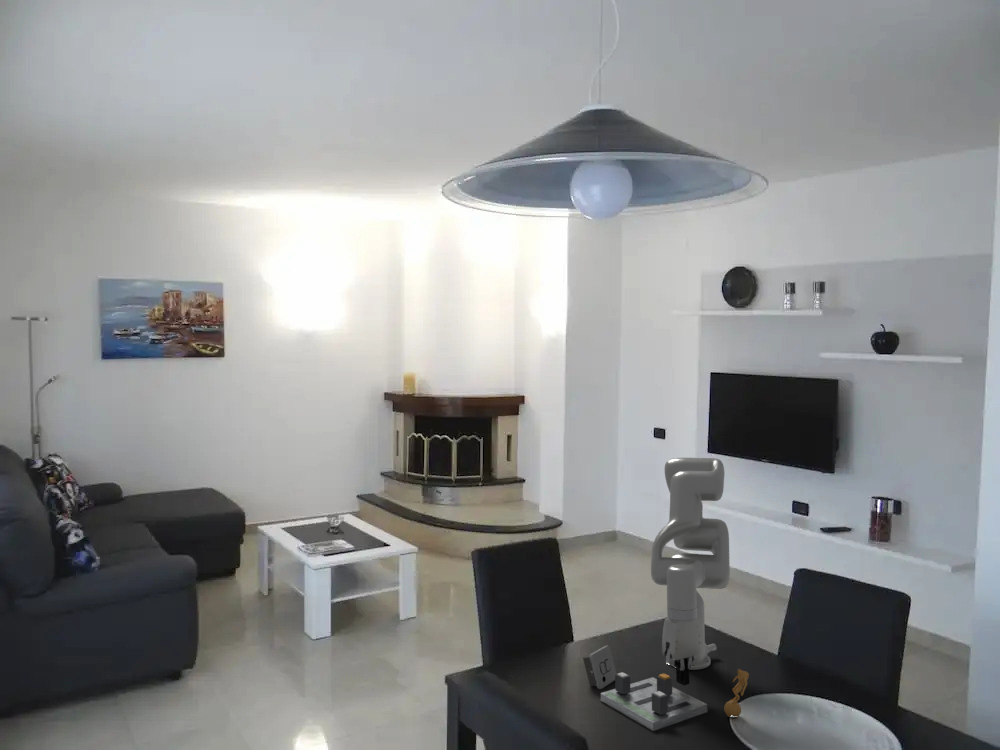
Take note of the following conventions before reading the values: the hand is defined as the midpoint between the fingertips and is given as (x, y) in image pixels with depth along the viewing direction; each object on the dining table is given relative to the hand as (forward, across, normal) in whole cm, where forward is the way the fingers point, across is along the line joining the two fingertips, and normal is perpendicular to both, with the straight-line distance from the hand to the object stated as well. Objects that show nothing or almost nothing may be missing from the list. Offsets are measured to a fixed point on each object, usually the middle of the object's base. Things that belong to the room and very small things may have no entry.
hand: (682, 683), depth 209 cm
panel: (+4, +10, 0) cm, 11 cm away
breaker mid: (+1, +6, 0) cm, 6 cm away
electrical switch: (+4, +12, -20) cm, 23 cm away
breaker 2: (+2, +14, +7) cm, 16 cm away
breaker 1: (+2, +14, -7) cm, 16 cm away
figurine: (+4, -3, +16) cm, 16 cm away
